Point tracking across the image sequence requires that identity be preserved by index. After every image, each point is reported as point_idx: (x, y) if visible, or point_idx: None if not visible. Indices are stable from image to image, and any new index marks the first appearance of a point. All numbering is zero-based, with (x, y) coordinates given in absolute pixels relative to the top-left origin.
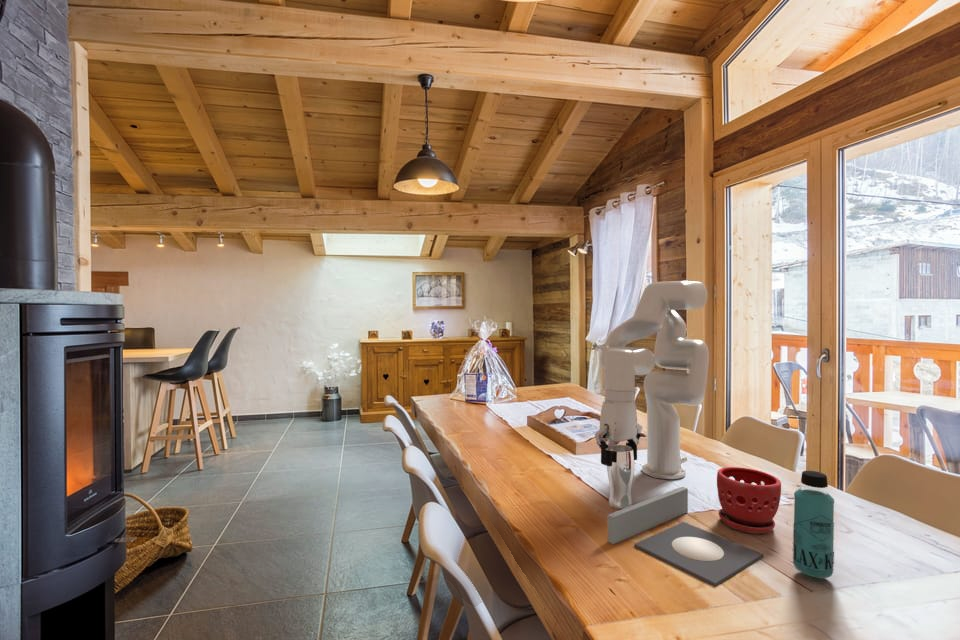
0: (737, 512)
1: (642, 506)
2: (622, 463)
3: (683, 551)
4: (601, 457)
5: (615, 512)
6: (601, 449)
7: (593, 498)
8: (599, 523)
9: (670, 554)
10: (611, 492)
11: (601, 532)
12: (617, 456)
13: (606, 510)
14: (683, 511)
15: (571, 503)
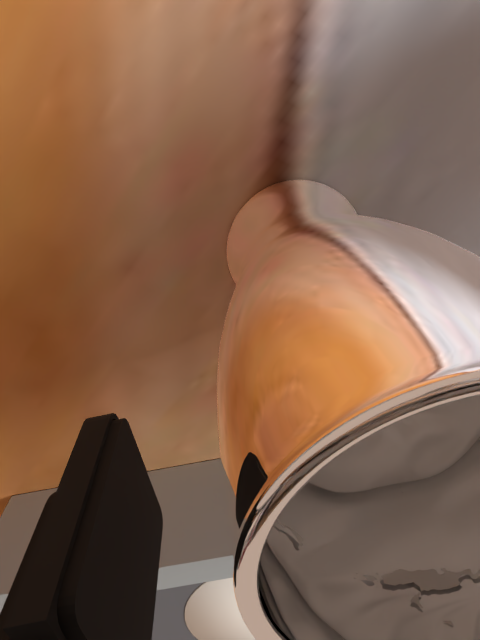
0: None
1: (182, 583)
2: (295, 534)
3: (204, 614)
4: (67, 481)
5: (6, 597)
6: (17, 610)
7: (203, 85)
8: (55, 376)
9: (156, 612)
10: (240, 267)
11: (22, 438)
12: (268, 581)
13: (172, 276)
14: None
15: (9, 92)
